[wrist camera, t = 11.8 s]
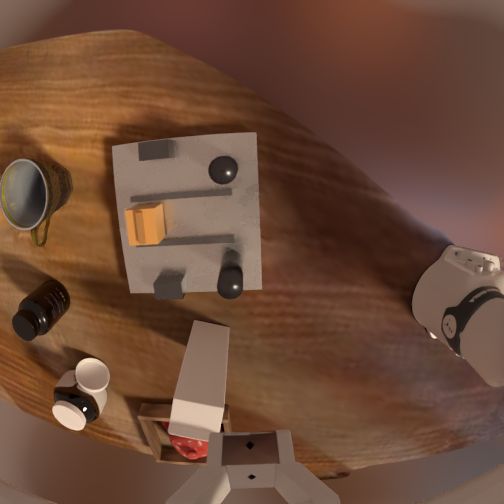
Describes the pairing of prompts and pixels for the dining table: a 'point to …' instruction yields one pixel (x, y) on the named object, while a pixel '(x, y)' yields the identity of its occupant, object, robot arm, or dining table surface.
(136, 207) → the block
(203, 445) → the butter dish
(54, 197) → the ceramic cup
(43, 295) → the supplement bottle
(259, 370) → the dining table surface
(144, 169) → the grey control board
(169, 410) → the walnut tray rim
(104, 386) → the spread jar
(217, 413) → the milk
